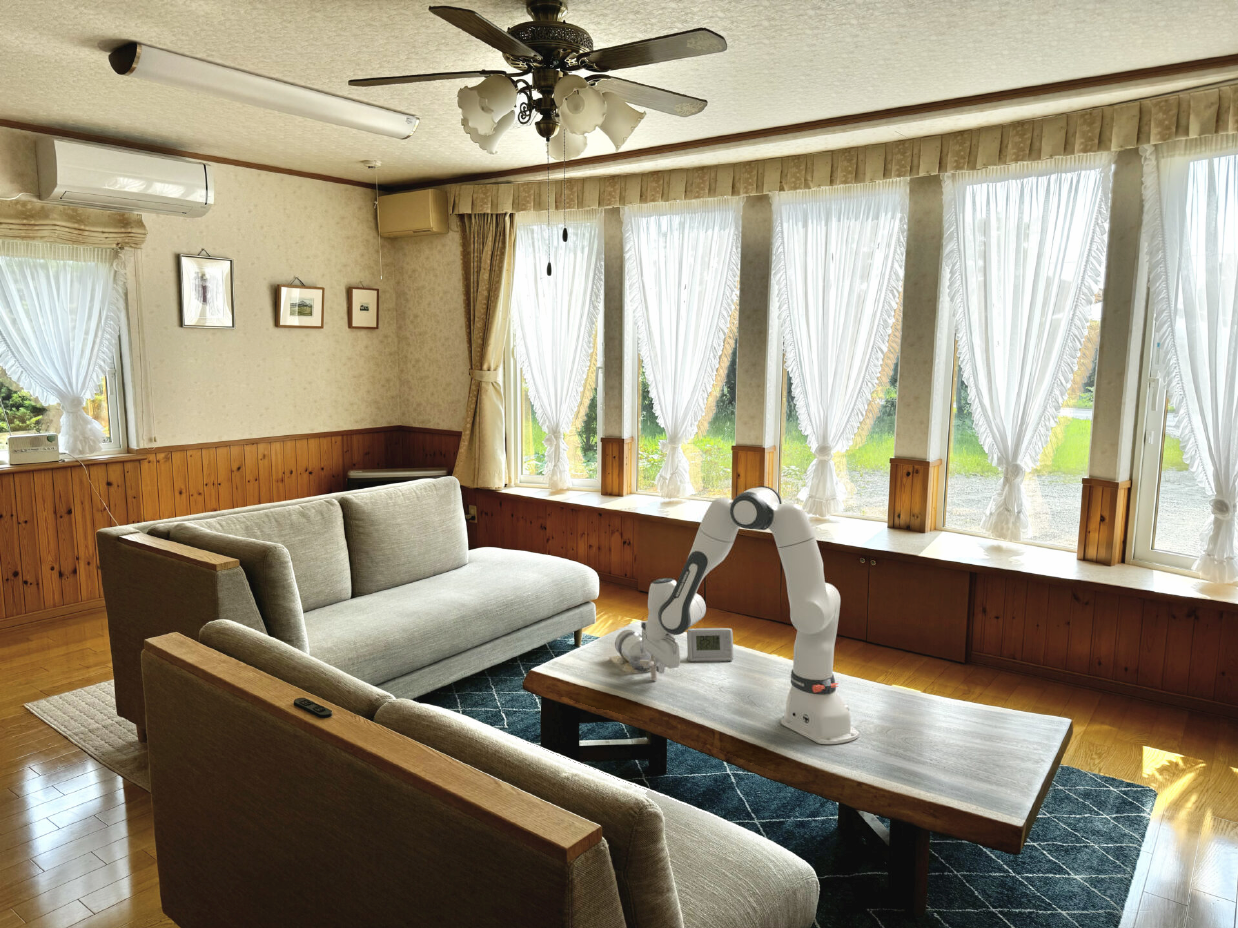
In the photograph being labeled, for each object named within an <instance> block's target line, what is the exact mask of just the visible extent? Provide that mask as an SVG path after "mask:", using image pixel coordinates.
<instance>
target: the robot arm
mask: <svg viewBox="0 0 1238 928" xmlns="http://www.w3.org/2000/svg"><path fill="white" fill-rule="evenodd" d="M782 502H783V501H782V498H781V496H780V494H779V492H777V490H776V489H774V488H772V487H770V486H765V485H764V486H763V485H761V486H757V487H752V488H749V489H747V490H745V491H743V492H741V493H739V494H737V496H735V498H734V499H731V498H728V497H718V498H716V499H714V500H713V501H711V503H710V505H709V506H708V508H707V509H706V512H705V513H704V514H703V515H704V516H703V518H702V519H701V522H700V525H699V527H698V529H697V532H696V535H695V538H694V541H693V543H692V547H691V549H690V552H689V555H688V556H687V559H686V562H685V564H684V566H683V567H682V570H681V572H680V574H679V577H678V580H677V581H676V580H675V578H670V577H663V578H658V579H655V580H654V581H652V582H651V583H650V585H649V588H648V589H649V590H648V596H647V597H648V599H647V608H648V616H647V618H646V619H647V620H644V621H641V623H640V628H641V629H642V630H641V636H642V646H643V649H645V650H646V651H647V652H649V653H650V654H651V655H652V656H654V661H655V665H656V671H657V673H658V674H660V675H661V674H664V673H665V668H668V669H676V668H679V667H680V665H681V653H680V651H681V650H680V645H679V643H678V642H677V641H676V638H675V637H676V636H679V635H680V636H681V635H682V634H684V633H685V632H687V630H688V629H690V627H693V626H694V625H695V624H697V623H698V622H700V620H702V619H703V618H704V617H705V616H706V612H707V604H706V602H705V600H704V597H703V596H702V595H700V594H699V593H697V591H698V589H699V587H700V585H701V583H702V581H703V579H704V578H705V577H706V576H707V575H708V574H709V573H710V571H712V570H713V569H715V568H716V567H717V566H718V565H720V564H721V563H722V562H723V561H724V560H725V559H726V557H727V556H728V555H729V553H730V551H731V549H732V547H733V545H734V543H735V540H736V537H737V534H738V532H739V530H740V528H741V529H744V530H745V529H746V530H754V531H755V530H757V531H766V530H769V531H770V532H771V533H772V535H773V539H774V541H775V544H776V548H777V552H778V555H779V557H780V561H781V565H782V568H783V572H784V576H785V581H786V589H787V596H788V597H787V598H788V602H789V609H790V610H789V611H790V612H789V617H790V618H789V619H790V621H791V623H792V625H793V627H794V628H795V630H797V631H796V637H795V641H794V644H793V662H792V669H791V674H790V684H791V687H790V690H789V692H788V694H787V699H786V704H785V705H786V706H785V712H784V717H783V718H782V719H781V723H780V724H781V725H783V726H784V727H786V728H788V729H790V730H792V731H793V732H796V733H798V734H800V735H801V736H804V737H806V738H807V739H810V740H812V741H813V742H815V743H817V744H819V745H820V744H822V745H836V744H837V745H838V744H843V743H847V742H848V743H849V742H852V741H854V740H856V739H858V738H859V737H860V732H859V731H858V730H857V729H856V728H855V727H854V726H853V725H851V721H852V720H851V713H850V708H849V706H848V705H847V704H844V701H843V699H842V698H841V697H840V695H839V694H838V691H837V690H836V689H837V688H838V687H839V685H838V684H839V682H836V679H835V675H834V673H833V670H834V668H833V667H834V657H835V656H834V654H835V653H834V652H835V645H836V644H835V643H836V638H837V633H838V625H839V617H840V610H841V609H840V608H841V595H840V593H839V589H837V588H836V587H835V586H834V585H833V584H832V583H828V582H826V581H825V580H826V579H825V573H824V562H823V558H822V555H821V552H820V548H819V545H818V542H817V538H816V536H815V533H814V529H813V527H812V524H811V522H810V519H809V518H808V515H807V514H806V511H805V510H804V508H803V506H801V505H799V504H798V503H792V502H787V503H783V504H782ZM665 666H667V667H665Z"/></svg>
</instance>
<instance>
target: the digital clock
mask: <svg viewBox="0 0 1238 928" xmlns="http://www.w3.org/2000/svg"><path fill="white" fill-rule="evenodd" d="M733 634H734V633H733V629H732V628H728V627H725V628H724V627H698V628H688V629H687V630H686V644H687V646H686V647H687V648H686V649H687V661H689V662H698V663H713V662H714V663H717V662H719V663H720V662H729V661H733V660H734V658H735V657H734V638H733V637H734V635H733Z"/></svg>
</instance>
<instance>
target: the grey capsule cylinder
mask: <svg viewBox="0 0 1238 928" xmlns="http://www.w3.org/2000/svg"><path fill="white" fill-rule="evenodd" d="M614 647H615V651H616V652H617V653H618V654H619V655H617V656H616V655H615V656H609V657H608V660H609V662H610V663H612V664H613V665H614V666H615V667H616V668H617V669H618V670H620V671H621V672H622V673H623V675H626V676H627V675H633V674H640V673H648V672H651V667H649V668H644V667H643V665H640V664H639V661H640V660H651V654H650V653H649V652H647V651H646V650H645V649H643V646H642V634H640V633H639V632H637V631H635V630H634V629H624V630H622V631H621V632H620V633H619V634H618V635H616V638H615V641H614Z"/></svg>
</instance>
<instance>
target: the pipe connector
mask: <svg viewBox="0 0 1238 928" xmlns="http://www.w3.org/2000/svg"><path fill="white" fill-rule="evenodd" d="M639 664H640V665H643V667H644V668H649V667H651V671H650V679H651V681H657V680H658V672H657V671H656V665H655V661H654V656H652V655H651V660H640V661H639ZM665 668H668V667H667V666H665Z"/></svg>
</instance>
